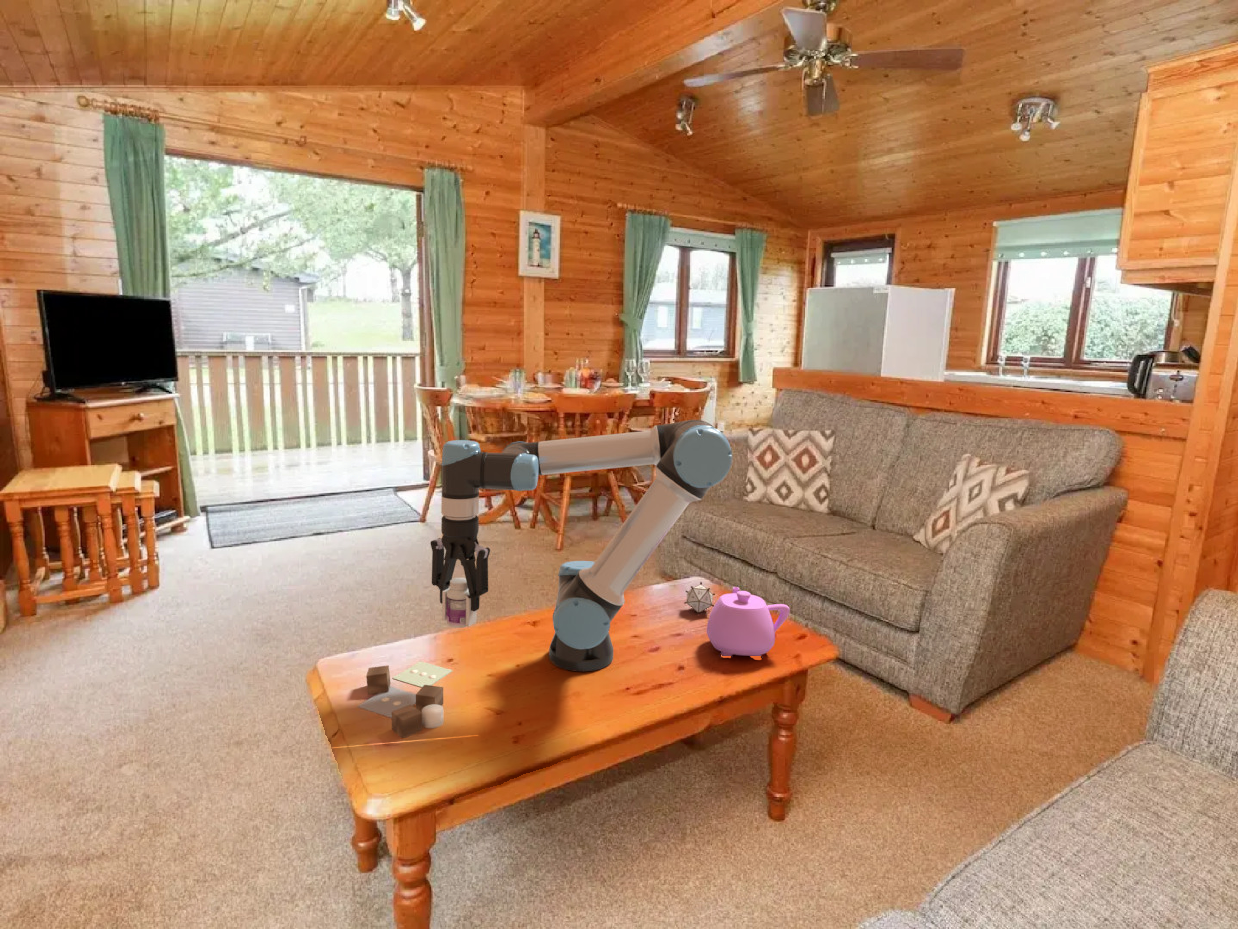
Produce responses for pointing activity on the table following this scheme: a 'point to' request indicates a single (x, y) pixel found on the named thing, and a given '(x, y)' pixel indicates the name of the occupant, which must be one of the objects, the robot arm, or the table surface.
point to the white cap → (432, 716)
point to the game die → (699, 598)
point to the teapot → (743, 624)
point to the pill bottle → (457, 603)
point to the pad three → (422, 674)
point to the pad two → (389, 701)
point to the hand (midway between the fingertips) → (459, 621)
